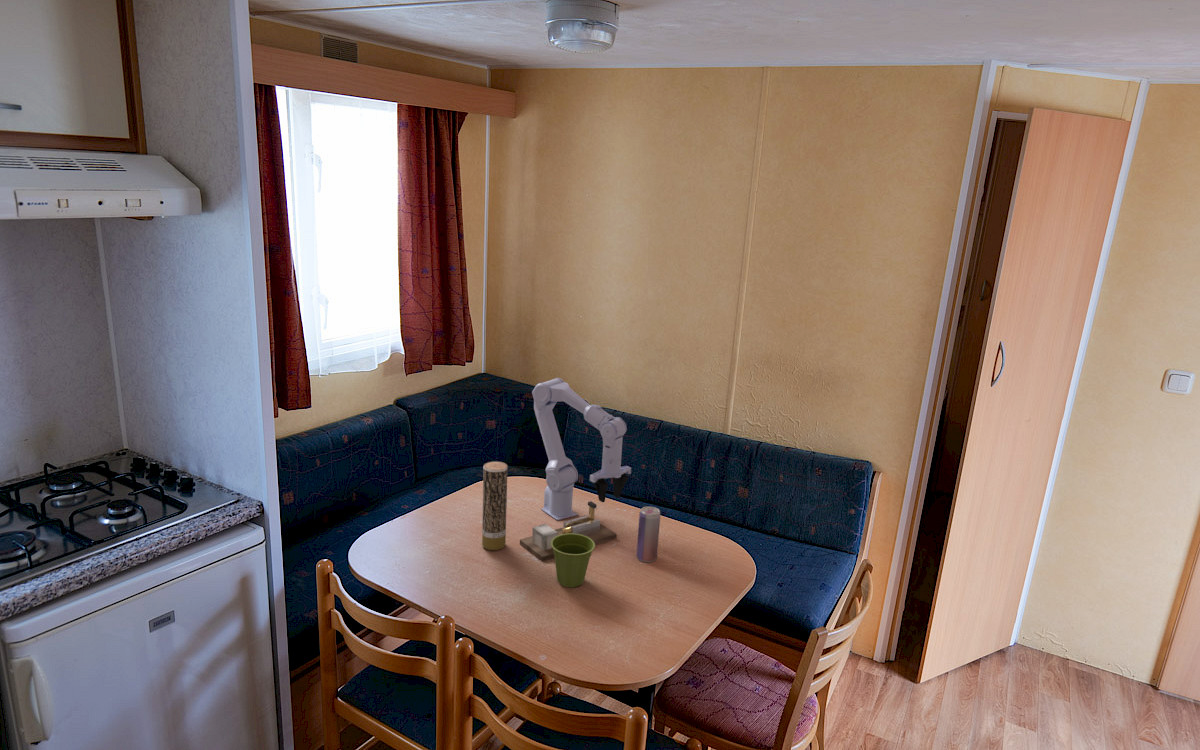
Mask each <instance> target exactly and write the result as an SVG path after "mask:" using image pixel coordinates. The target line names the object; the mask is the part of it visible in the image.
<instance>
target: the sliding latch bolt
mask: <svg viewBox="0 0 1200 750" xmlns="http://www.w3.org/2000/svg"><path fill="white" fill-rule="evenodd" d="M587 506H588V515H589V520H588V521H592V520H595V510H596V508H597V506H598V505H597V504H596V503H595V502H594V501H587ZM568 533H571V527H568V528H564V529H562V534H568Z"/></svg>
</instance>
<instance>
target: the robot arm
mask: <svg viewBox="0 0 1200 750" xmlns="http://www.w3.org/2000/svg"><path fill="white" fill-rule="evenodd" d="M531 394H532V397H533V410H534V414H535V418H536V421H537V425H538V427H539V432H540V434H541V435H540V436H541V437H542V441H543V446H544V449H545V452H546V456H547V458H548V463H547V465H546V467H545V470H544V471H545V474H546V476H545V477H546V478H545V481H546V485H547V486H546V487H545V489H544V495H543V497H544V500H543V507H541V510H542V511H543V512H545V514H547V515H549V516H550V517H551V518H553V519H554V520H556V521H561V520H564V519H567V518H571V517H575V516H577V515H578V513H577V512H576V511H574V510H573V496H574V495H573V493H574V486H575V483H576V482H577V481H578V478H579V473H578V470H577V468H576V467H575V466H574V464H573V461H572V460H571V458H569V457H567V456H566V454H565V453H566V452H565V450H564V446H563V443H562V439H561V436H560V432H559V429H558V425H557V421H556V419H555V415H554V412H553V409H554V407H555V406H556V404H557V402H564V403H565V404H567V405H568V406H570V407H572V408H574V409H576V410H577V411H578V412H580V413H581V414H583V419H584V420H585V421H586V423H588V424H590V425H591V426H592V427H594V428H595V429H596V430H598V431H599V433H600V436H601V438H602V459H601V469H599V470H598V471H596V472H594V473H592V474H589V482H591V483H593V484H594V487H595V489H596V492H597V496H598V501H599V502H601V503H605V501H606V494H607V489H608V487H609V483H608V482H606V480H607V479H611V478H612V481H613V497H615V498H616V499H620V496H621V494H622V491H623V489H624V487H625V485H626V483H627V482H628V481H629V476H628V475H631V474H632V467H630V466H629V465H624V466H621V465H622V450H623V438H624V435H625V434H626V432H627V431H628V427H627V426H628V425H627V424H626V422H625V420H623V418H621V417H620V416H618V417H617V416H616V417H615V416H613V415H612V414H609V413H608V412H607V411H605V410H604V409H603V408H602V406H601V405H600V404H590V403H588V402H587V400H585V399H584V398H582V397H581V396H580V395H579V394H578V393H577V392H575V391H574V390H573V389H572V388H571V387H570V385H569V383H568V382H565V380H563V378H561V377H555V378H553V379H550V380H547V381H544V382H539V383H537V384H536V385H535V387H534V388H533V389H532V391H531Z"/></svg>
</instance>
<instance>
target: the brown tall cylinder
mask: <svg viewBox="0 0 1200 750" xmlns="http://www.w3.org/2000/svg"><path fill="white" fill-rule="evenodd" d="M482 468H483V470H482V472H483V473H482V474H483V475H482V477H483V478H482V481H483V482H482V524H481V525H482V529H481V530H482V531H481V532H482V536H481V537H482V538H481V539H482V541H481V542H482V543H481V544H482V545H481V546H482V547H483V548H484V549H485V550H487V551H499V550H501V549H504V548H505V546H506V541H507V540H506V539H507V537H506V536H507V509H508V507H507V506H508V505H507V504H508V502H507V500H508V471H509V470H508V464H507V463H505V462H502V461H488V462H486V463H484V464H483V467H482Z"/></svg>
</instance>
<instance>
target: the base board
mask: <svg viewBox="0 0 1200 750" xmlns="http://www.w3.org/2000/svg"><path fill="white" fill-rule="evenodd" d="M562 529H564V526H563V527H560V528H557V529H554V530H555V531H556V532H558V535H561V534H562ZM617 536H618V534H617V533H616V532H615V531H613V530H611V529H610V528H608V527H606V526H605V525H604V524H602V523H601V522H600V529H599V533H596V534H592V535H589V536H587V537H589V538H591V539H592V540H593V541H594V543H595V546H598V545H600V544H604V543H607V542H609V541H613V540H616V539H617ZM519 545H520V546H521V547H523V548H524V549H525V550H527V551H528V552H529V553H530V554H532V555H533V556H534V557H535V558H536V559H538V560H539V561H540V560H541V561H540V562H545V561H547V560H551V559H555V555H554V552H553V548H551V549H547V550H543V549H542V548H540V547H539V546H538V545H536V544H535V543H534V542H532V535H531V536H528V537H524V538H521V539H519Z"/></svg>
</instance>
